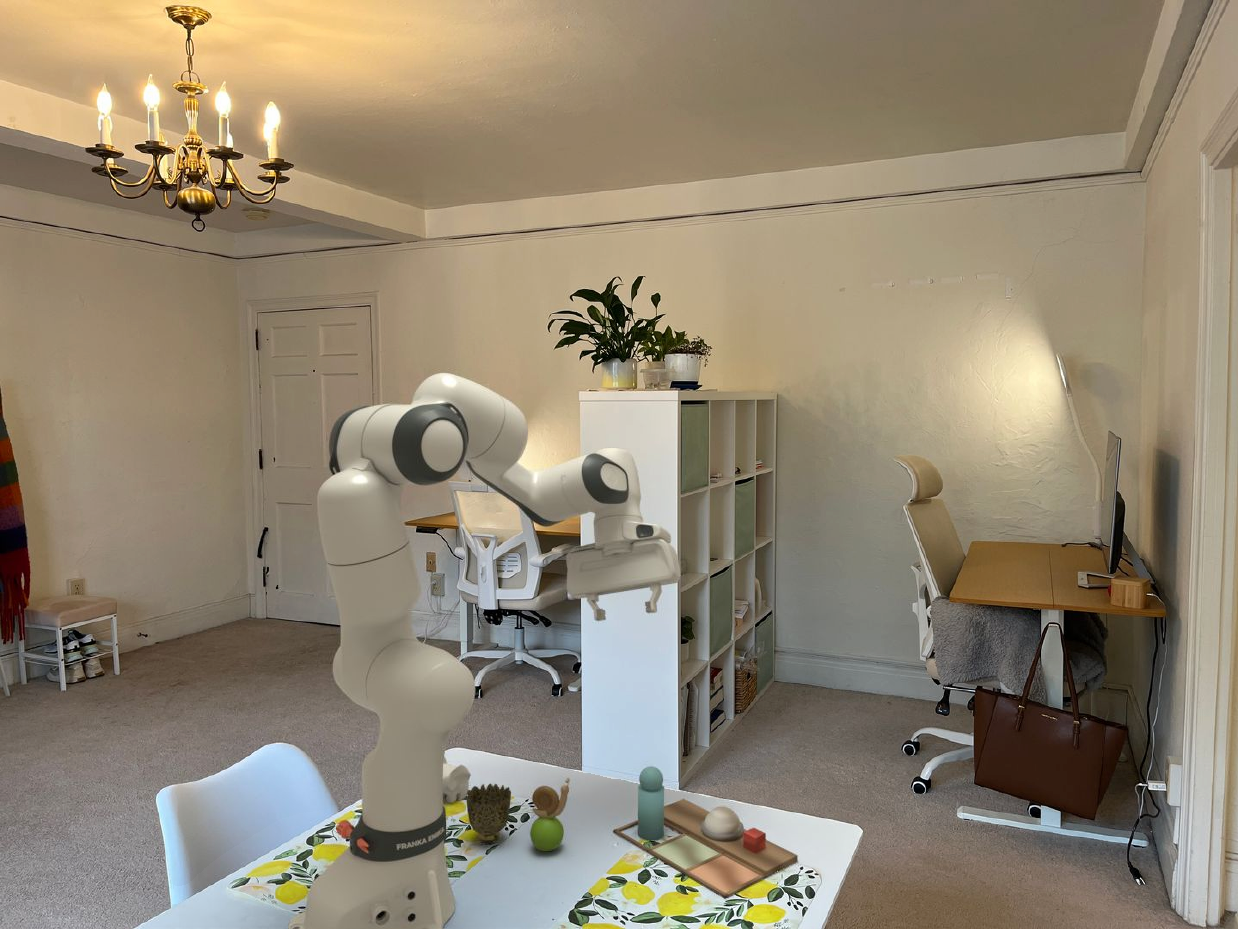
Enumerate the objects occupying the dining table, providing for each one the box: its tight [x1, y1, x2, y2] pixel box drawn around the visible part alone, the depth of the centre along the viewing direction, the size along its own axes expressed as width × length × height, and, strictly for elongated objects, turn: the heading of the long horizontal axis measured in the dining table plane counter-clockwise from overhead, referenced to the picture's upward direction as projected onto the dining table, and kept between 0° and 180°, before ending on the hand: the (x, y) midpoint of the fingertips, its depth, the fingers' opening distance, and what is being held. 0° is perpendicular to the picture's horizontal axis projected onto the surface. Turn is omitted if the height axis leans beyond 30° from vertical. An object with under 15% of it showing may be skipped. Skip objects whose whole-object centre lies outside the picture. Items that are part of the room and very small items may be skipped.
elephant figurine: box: [443, 756, 472, 804], centre depth 158 cm, size 8×10×7 cm
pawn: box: [637, 765, 665, 841], centre depth 145 cm, size 4×4×12 cm
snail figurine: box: [529, 777, 571, 852], centre depth 140 cm, size 5×6×12 cm
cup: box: [465, 783, 512, 844], centre depth 143 cm, size 8×7×8 cm
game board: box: [612, 798, 799, 899], centre depth 141 cm, size 16×26×6 cm, turn 40°
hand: (625, 616), depth 148 cm, fingers open, 8 cm apart
